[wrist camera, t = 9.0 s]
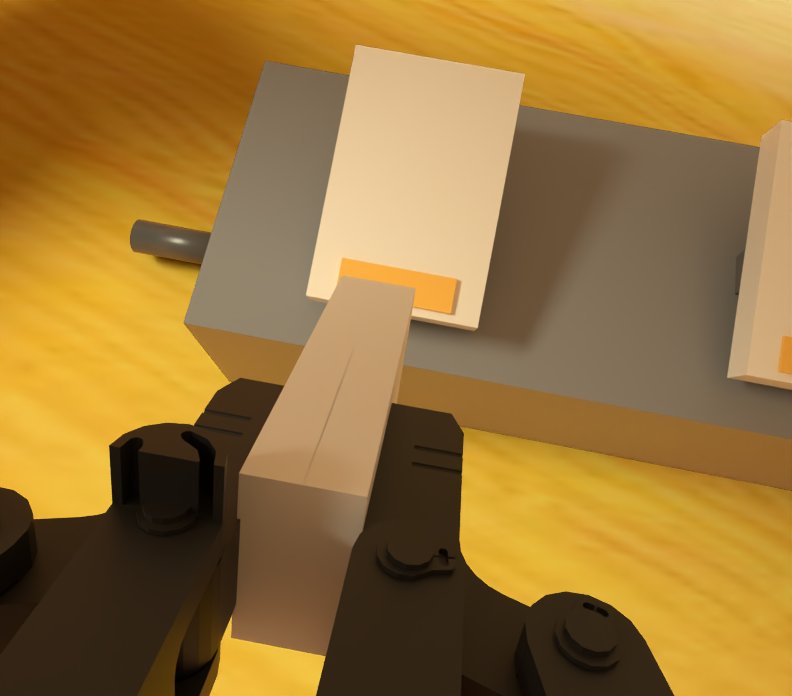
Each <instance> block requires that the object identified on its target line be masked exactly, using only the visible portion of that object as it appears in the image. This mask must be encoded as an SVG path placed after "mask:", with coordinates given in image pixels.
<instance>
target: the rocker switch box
mask: <svg viewBox="0 0 792 696" xmlns="http://www.w3.org/2000/svg"><path fill="white" fill-rule="evenodd" d="M349 77H350V75H345V74H339V73H333V72H327V71H322V70H316V69H310V68H304V67H299V66H293V65H287V64H282V63H276V62H270V61H265V62H264V66H263V69H262V72H261V75H260V78H259V82H258V85H257V88H256V91H255V95H254V98H253V101H252V104H251V107H250V111H249V114H248V117H247V120H246V124H245V127H244V130H243V133H242V136H241V140H240V143H239V146H238V149H237V153H236V156H235V159H234V162H233V165H232V169H231V172H230V175H229V178H228V182H227V185H226V188H225V191H224V194H223V198H222V201H221V204H220V207H219V211H218V214H217V217H216V220H215V223H214V227H213V230H212V233H210V232H204V231H199V230H193V229H188V228H183V227H177V226H172V225H167V224H161V223H156V222H150V221H145V220H137V221H136V222H135V223H134V225H133V227H132V230H131V235H130V244H131V248H132V250H133V251H134V252H138V253H143V254H149V255H154V256H159V257H165V258H170V259H175V260H181V261H186V262H191V263H197V264H202V265H201V268H200V272H199V275H198V278H197V281H196V285H195V288H194V291H193V294H192V297H191V301H190V304H189V307H188V310H187V314H186V317H185V320H184V324H185V325H186V327H187V328H188V329H189V331H190V332H191V333H192V334H193V336H194V337H195V338H196V339H197V341H198V342H199V343H200V345H201V346H202V347H203V348H204V350H205V351H206V352H207V353H208V355H209V356H210V357H211V359H212V360H213V361H214V362H215V364H216V365H217V366H218V367H219V369H220V370H221V371H222V373H223V374H224V375H225V376H226V378H227V379H228V380H229V381H231V382H234V381H235V380H237V379H239V378H245V379H250V380H256V381H261V382H267V383H273V384H278V385H284V386H285V384H286V382H287V380H288V378H289V376H290V374H291V372H292V371H293V369H294V367H295V365H296V363H297V361H298V359H299V357H300V355H301V353H302V351H303V349H304V347H305V346H306V344H307V342H308V340H309V338H310V336H311V334H312V332H313V330H314V328H315V326H316V324H317V323H318V321H319V319H320V317H321V315H322V313H323V311H324V309H325V307H326V305H327V303H322V302H317V301H312V300H311V299H309V298H308V297H307V296H306V292H307V287H308V282H309V277H310V272H311V267H312V262H313V257H314V252H315V247H316V242H317V237H318V232H319V227H320V222H321V217H322V212H323V207H324V202H325V197H326V192H327V187H328V182H329V177H330V172H331V167H332V162H333V157H334V152H335V147H336V142H337V137H338V132H339V127H340V122H341V117H342V112H343V107H344V102H345V97H346V92H347V87H348V82H349ZM759 150H760V147H756V146H750V145H745V144H739V143H733V142H727V141H722V140H716V139H710V138H705V137H699V136H693V135H687V134H682V133H676V132H670V131H665V130H659V129H653V128H647V127H642V126H636V125H630V124H625V123H619V122H613V121H607V120H602V119H596V118H590V117H585V116H579V115H573V114H567V113H562V112H556V111H550V110H545V109H539V108H533V107H527V106H522V105H519V110H518V115H517V120H516V126H515V131H514V136H513V142H512V147H511V152H510V158H509V163H508V168H507V174H506V179H505V184H504V190H503V195H502V200H501V206H500V211H499V216H498V222H497V227H496V232H495V238H494V243H493V248H492V254H491V259H490V264H489V270H488V275H487V280H486V286H485V291H484V297H483V302H482V307H481V313H480V318H479V323H478V328H477V329H476V330H475V331H471V330H465V329H460V328H455V327H450V326H444V325H439V324H434V323H428V322H423V321H418V320H412V319H411V321H410V327H409V333H408V339H407V345H406V351H405V357H404V363H403V369H402V375H401V381H400V387H399V393H398V399H397V404H401V405H406V406H412V407H417V408H423V409H429V410H434V411H440V412H445V413H451V414H452V415H453V417H454V418H455V420H456V422H457V423H458V425H459V426H463V427H468V428H473V429H478V430H483V431H488V432H493V433H499V434H504V435H509V436H514V437H519V438H524V439H529V440H535V441H540V442H545V443H550V444H555V445H560V446H565V447H570V448H576V449H581V450H586V451H591V452H596V453H601V454H606V455H612V456H617V457H622V458H627V459H632V460H637V461H642V462H648V463H653V464H658V465H663V466H668V467H673V468H678V469H684V470H689V471H694V472H699V473H704V474H709V475H714V476H720V477H725V478H730V479H735V480H740V481H745V482H750V483H756V484H761V485H766V486H771V487H776V488H781V489H786V490H791V491H792V390H789V389H784V388H779V387H774V386H768V385H763V384H758V383H752V382H747V381H742V380H736V379H731V378H727V375H728V368H729V361H730V354H731V347H732V340H733V333H734V326H735V319H736V312H737V305H738V298H739V291H740V284H741V277H742V270H743V263H744V256H745V248H746V241H747V234H748V227H749V220H750V213H751V206H752V199H753V192H754V185H755V178H756V171H757V164H758V157H759Z"/></svg>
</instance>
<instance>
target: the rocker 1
mask: <svg viewBox="0 0 792 696" xmlns="http://www.w3.org/2000/svg"><path fill="white" fill-rule="evenodd" d="M524 78H525V74H523V73H517V72H511V71H505V70H500V69H494V68H488V67H482V66H476V65H471V64H465V63H459V62H453V61H448V60H442V59H436V58H430V57H424V56H419V55H413V54H407V53H401V52H396V51H390V50H384V49H378V48H372V47H367V46H361V45H356V47H355V52H354V57H353V62H352V67H351V72H350V77H349V82H348V87H347V92H346V97H345V102H344V107H343V112H342V117H341V122H340V127H339V132H338V137H337V142H336V147H335V152H334V157H333V162H332V167H331V172H330V177H329V182H328V187H327V192H326V197H325V202H324V207H323V212H322V217H321V222H320V227H319V232H318V237H317V242H316V247H315V252H314V257H313V262H312V267H311V272H310V277H309V282H308V287H307V292H306V296H307V297H308V298H309V299H311V300H312V301H317V302H322V303H328V301H329V299H330V298H331V296H332V294H333V292H334V290H335V288H336V286H337V284H338V282H339V280H340V278H341V276H342V275H343V276H348V277H354V278H360V279H366V280H371V281H377V282H383V283H388V284H394V285H400V286H406V287H411V288H416V291H415V297H414V303H413V309H412V315H411V319H412V320H418V321H423V322H428V323H434V324H439V325H444V326H450V327H455V328H460V329H465V330H471V331H475V330H476V329H477V328H478V323H479V318H480V313H481V307H482V302H483V297H484V291H485V286H486V280H487V275H488V270H489V264H490V259H491V254H492V248H493V243H494V238H495V232H496V227H497V222H498V216H499V211H500V206H501V200H502V195H503V190H504V184H505V179H506V174H507V168H508V163H509V158H510V152H511V147H512V142H513V136H514V131H515V126H516V120H517V115H518V110H519V104H520V99H521V94H522V88H523V83H524Z"/></svg>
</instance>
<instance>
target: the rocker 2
mask: <svg viewBox="0 0 792 696" xmlns="http://www.w3.org/2000/svg"><path fill="white" fill-rule="evenodd" d="M727 378H731V379H736V380H742V381H747V382H752V383H758V384H763V385H768V386H774V387H779V388H784V389H789V390H792V121H787V120H781V121H780V122H779V123H777V124H776V125H775V126H774V127H772V128H771V129H770V130H769V131H768V132H766V133H765V134H764V135H763V136H761V143H760V150H759V157H758V164H757V171H756V178H755V185H754V192H753V199H752V206H751V213H750V220H749V227H748V234H747V241H746V248H745V256H744V263H743V270H742V277H741V284H740V291H739V298H738V305H737V312H736V319H735V326H734V333H733V340H732V347H731V354H730V361H729V368H728V375H727Z"/></svg>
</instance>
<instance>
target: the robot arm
mask: <svg viewBox="0 0 792 696" xmlns="http://www.w3.org/2000/svg"><path fill="white" fill-rule="evenodd" d="M415 291H416V288H411V287H406V286H400V285H394V284H388V283H383V282H377V281H371V280H366V279H360V278H354V277H348V276H343V275H342V276H341V278H340V280H339V282H338V284H337V286H336V288H335V290H334V292H333V294H332V296H331V298H330V299H329V301H328V303H327V305H326V307H325V309H324V311H323V313H322V315H321V317H320V319H319V321H318V323H317V324H316V326H315V328H314V330H313V332H312V334H311V336H310V338H309V340H308V342H307V344H306V346H305V347H304V349H303V351H302V353H301V355H300V357H299V359H298V361H297V363H296V365H295V367H294V369H293V371H292V372H291V374H290V376H289V378H288V380H287V382H286V384H285V386H284V385H278V384H273V383H267V382H261V381H256V380H250V379H245V378H239V379H237V380H235V381H234V382H232V383H230V384H228V385H227V386H225V387H223V388H222V389H220V390H218V391H217V392H216V394H215V395H214V396H213V398H212V399H211V401H210V402H209V404H208V405H207V407H206V408H205V411H204V413H202V414H201V415H200V417H199V418H198V420H197V421H196V423H195V424H194V426H193V425H190V424H177V423H162V424H155V425H148V426H143V427H141V428H138V429H135V430H133V431H130V432H128V433H125V434H123V435H122V436H121V437H120V438H118V439H117V440H116V441H114V442H113V443H112V444H111V445H109V451H110V468H111V485H112V505H111V506H110V507H109V509H108V510H107V511H106V513H103V514H99V515H93V516H85V517H73V518H53V519H33V513H32V510H31V507H30V505H29V502H28V500H27V499H26V498H24V497H23V496H21V495H20V494H18V493H17V492H16V491H14V490H10V489H6V488H1V487H0V696H209V695H210V692H211V690H212V687H213V685H214V682H215V680H216V677H217V674H218V667H219V661H220V643H221V640H222V637H223V635H224V632H225V630H226V628H227V625H228V623H229V620H230V618H231V615H232V633H231V638H236V639H241V640H246V641H251V642H256V643H261V644H266V645H272V646H277V647H282V648H287V649H292V650H297V651H302V652H307V653H313V654H318V655H323V656H326V657H325V661H324V666H323V670H322V674H321V678H320V682H319V686H318V690H317V694H316V696H674V694H673V692H672V691H671V689H670V687H669V685H668V683H667V681H666V679H665V677H664V675H663V673H662V671H661V670H660V668H659V666H658V664H657V662H656V660H655V658H654V656H653V654H652V652H651V650H650V649H649V647H648V645H647V643H646V641H645V639H644V638H643V637H642V635H641V634H640V633H639V631H638V630H637V629H636V627H635V626H634V625H633V623H632V622H631V621H630V620H629V619H628V618H626V617H625V616H624V615H623V614H621V613H620V612H619V611H618V610H616V609H615V608H614V607H612V606H611V605H609V604H607V603H605V602H602V601H600V600H598V599H596V598H593V597H591V596H589V595H584V594H578V593H571V592H561V593H555V594H549V595H545V596H544V597H543V598H541V599H540V600H538V601H537V602H536V603H534V604H533V605H532V606H531V607H529V606H527V605H525V604H522V603H520V602H518V601H516V600H514V599H512V598H509V597H507V596H505V595H503V594H501V593H500V592H498V591H496V590H494V589H493V588H491V587H489V586H488V585H487V584H485V583H484V582H483V581H482V580H481V579H480V578H478V577H477V576H476V575H475V574H474V572H473V571H472V570H471V569H470V567H469V566H468V565H467V564H466V562H465V559H464V557H463V555H462V553H461V549H460V542H459V533H460V509H461V485H462V475H461V474H462V461H463V458H462V455H463V437H464V433H463V432H462V430H461V428H460V427H459V425H458V423H457V422H456V420H455V418H454V417H453V415H452V414H451V413H445V412H440V411H434V410H429V409H423V408H417V407H412V406H406V405H401V404H397V399H398V393H399V387H400V381H401V375H402V369H403V363H404V357H405V351H406V345H407V339H408V333H409V327H410V321H411V315H412V309H413V303H414V297H415Z"/></svg>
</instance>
